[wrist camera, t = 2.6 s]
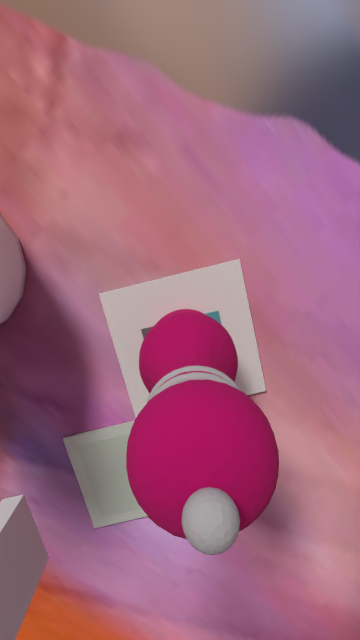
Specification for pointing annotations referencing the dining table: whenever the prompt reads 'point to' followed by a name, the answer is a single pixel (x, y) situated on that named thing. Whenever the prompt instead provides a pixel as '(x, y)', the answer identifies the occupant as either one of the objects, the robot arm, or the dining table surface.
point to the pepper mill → (198, 436)
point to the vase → (10, 270)
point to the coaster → (104, 473)
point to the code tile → (174, 294)
